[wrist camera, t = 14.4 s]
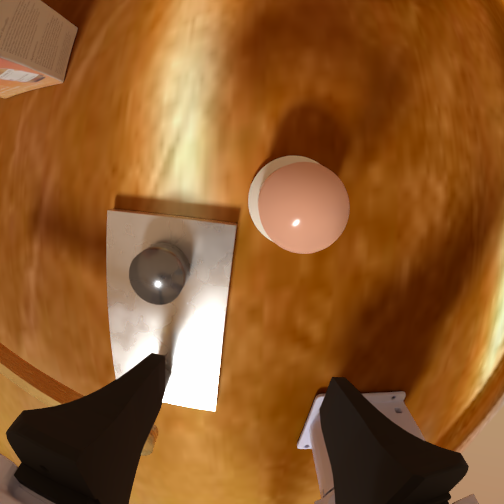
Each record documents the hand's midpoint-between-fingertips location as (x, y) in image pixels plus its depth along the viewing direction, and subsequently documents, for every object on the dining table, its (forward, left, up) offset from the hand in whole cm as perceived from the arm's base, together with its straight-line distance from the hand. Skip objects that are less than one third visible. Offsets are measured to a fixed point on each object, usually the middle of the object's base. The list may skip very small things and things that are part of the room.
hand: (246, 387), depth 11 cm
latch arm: (+12, +6, -2) cm, 14 cm away
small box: (+21, -18, -10) cm, 29 cm away
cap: (-2, -7, -9) cm, 12 cm away
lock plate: (+6, +3, -10) cm, 12 cm away
